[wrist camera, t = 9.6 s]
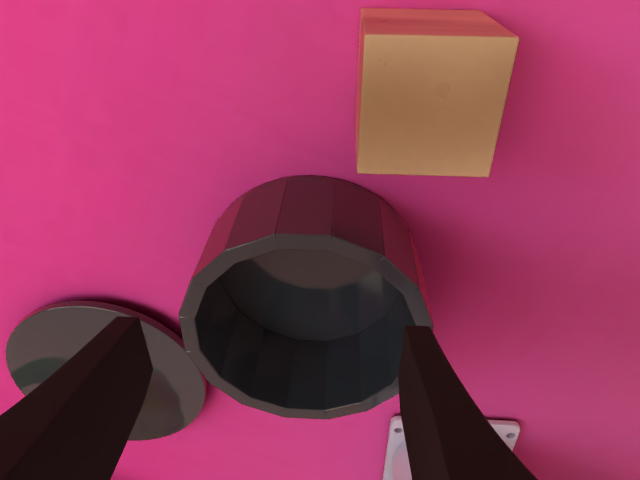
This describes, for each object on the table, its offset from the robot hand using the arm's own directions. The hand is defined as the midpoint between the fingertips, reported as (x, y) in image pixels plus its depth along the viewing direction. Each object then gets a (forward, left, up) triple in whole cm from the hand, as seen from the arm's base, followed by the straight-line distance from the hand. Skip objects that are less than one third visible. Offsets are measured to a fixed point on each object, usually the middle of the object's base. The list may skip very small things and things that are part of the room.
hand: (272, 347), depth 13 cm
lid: (-13, +12, -10) cm, 20 cm away
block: (+5, -4, -10) cm, 12 cm away
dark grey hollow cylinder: (-5, 0, -10) cm, 12 cm away
